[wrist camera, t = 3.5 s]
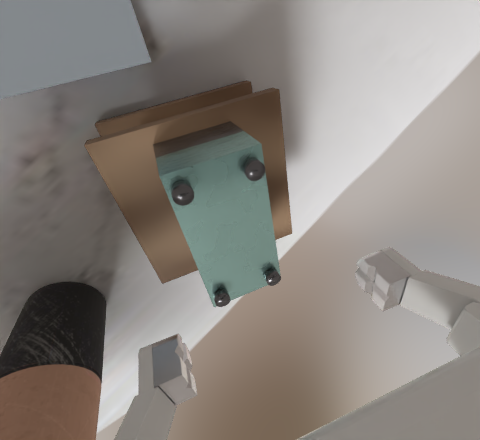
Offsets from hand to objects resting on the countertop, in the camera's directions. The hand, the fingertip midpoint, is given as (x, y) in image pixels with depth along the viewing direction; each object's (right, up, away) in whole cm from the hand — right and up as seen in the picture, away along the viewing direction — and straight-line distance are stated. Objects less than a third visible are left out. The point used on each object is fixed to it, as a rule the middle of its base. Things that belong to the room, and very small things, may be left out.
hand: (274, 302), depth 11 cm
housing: (-3, +5, +8) cm, 10 cm away
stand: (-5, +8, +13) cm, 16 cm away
